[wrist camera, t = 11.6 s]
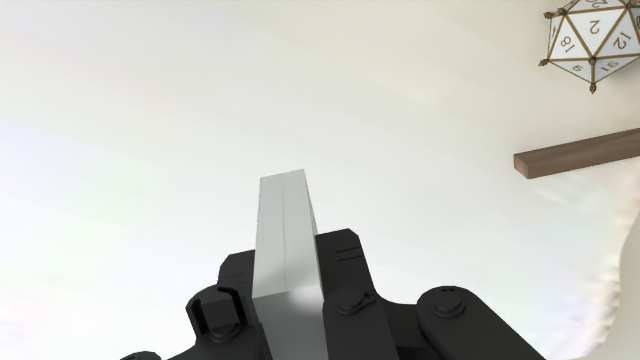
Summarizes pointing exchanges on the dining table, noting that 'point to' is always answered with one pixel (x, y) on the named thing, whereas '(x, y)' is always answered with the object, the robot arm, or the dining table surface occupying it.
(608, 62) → the game die
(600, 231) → the dining table surface
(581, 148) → the brown wooden bar
